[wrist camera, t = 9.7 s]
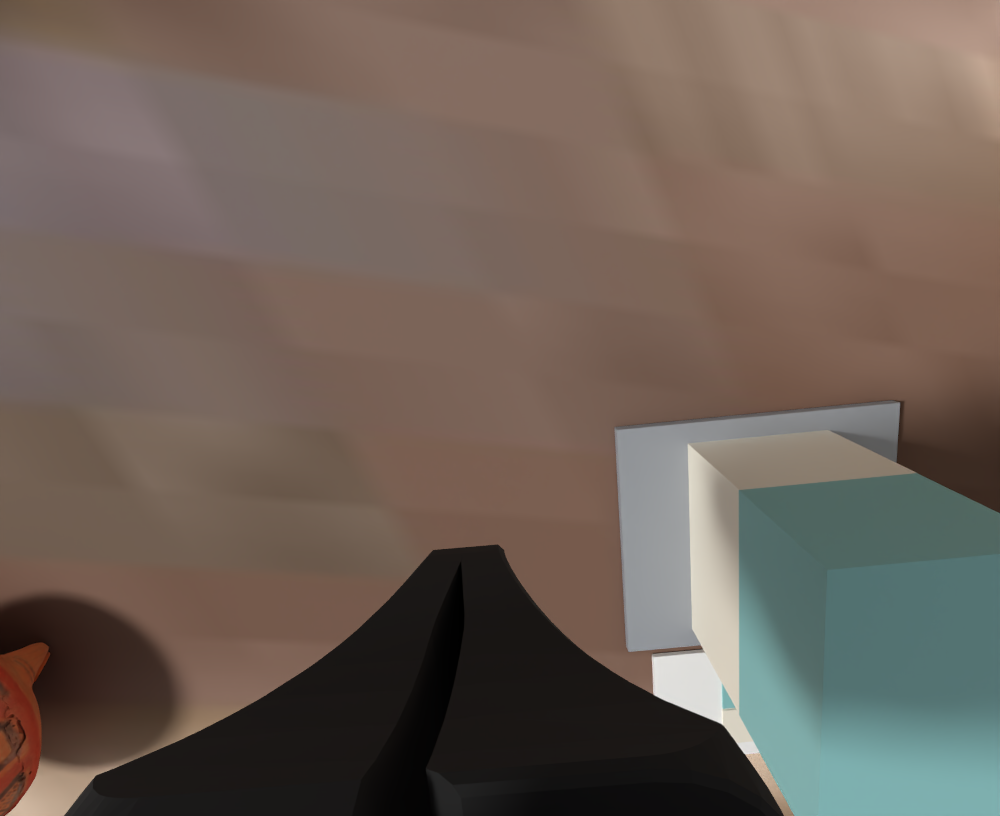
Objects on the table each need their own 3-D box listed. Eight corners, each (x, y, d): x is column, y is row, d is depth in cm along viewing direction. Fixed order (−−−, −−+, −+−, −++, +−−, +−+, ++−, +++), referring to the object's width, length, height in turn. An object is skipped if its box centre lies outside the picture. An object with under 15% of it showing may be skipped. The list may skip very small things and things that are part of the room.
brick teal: (900, 700, 18) (1029, 837, 14) (739, 715, 18) (816, 856, 14) (916, 473, 16) (1070, 547, 12) (738, 489, 17) (827, 569, 12)
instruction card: (848, 740, 24) (852, 746, 24) (656, 758, 25) (658, 764, 24) (853, 635, 23) (858, 640, 23) (651, 653, 23) (653, 659, 23)
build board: (879, 622, 23) (885, 627, 23) (626, 645, 23) (628, 651, 23) (892, 400, 21) (900, 402, 21) (614, 427, 21) (616, 430, 21)
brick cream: (821, 616, 23) (900, 700, 18) (691, 628, 23) (739, 715, 18) (828, 429, 21) (917, 472, 16) (688, 443, 21) (739, 490, 17)
